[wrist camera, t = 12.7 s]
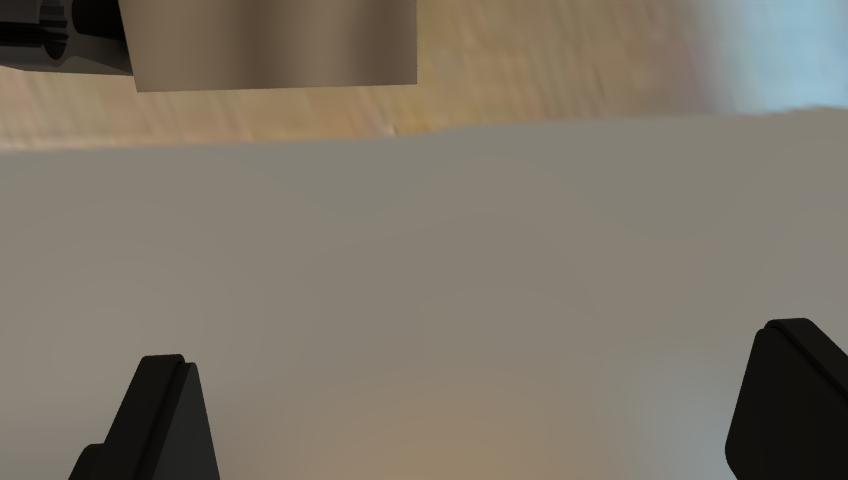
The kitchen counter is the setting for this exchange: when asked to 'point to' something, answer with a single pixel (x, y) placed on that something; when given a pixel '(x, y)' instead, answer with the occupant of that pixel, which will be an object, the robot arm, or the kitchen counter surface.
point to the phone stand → (64, 36)
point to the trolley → (269, 43)
